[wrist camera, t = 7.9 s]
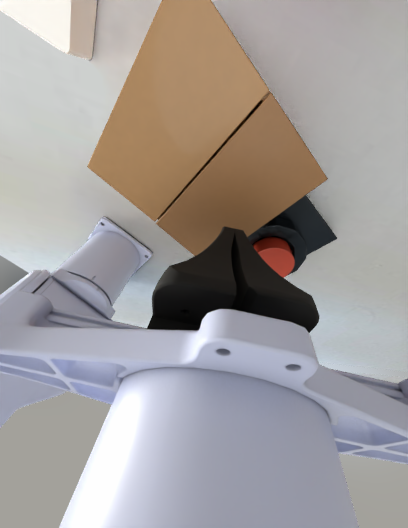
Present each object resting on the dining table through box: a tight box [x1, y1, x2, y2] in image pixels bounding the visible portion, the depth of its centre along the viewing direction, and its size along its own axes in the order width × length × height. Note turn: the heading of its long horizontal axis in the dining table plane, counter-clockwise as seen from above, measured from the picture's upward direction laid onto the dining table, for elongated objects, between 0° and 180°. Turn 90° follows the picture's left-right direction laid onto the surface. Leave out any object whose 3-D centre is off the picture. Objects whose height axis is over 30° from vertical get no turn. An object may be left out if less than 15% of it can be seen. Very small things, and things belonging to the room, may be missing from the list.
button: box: [253, 237, 295, 277], centre depth 21 cm, size 4×4×2 cm
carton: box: [156, 91, 328, 256], centre depth 16 cm, size 12×11×8 cm
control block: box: [247, 195, 337, 275], centre depth 22 cm, size 12×8×4 cm, turn 137°
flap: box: [87, 0, 269, 221], centre depth 12 cm, size 6×11×1 cm, turn 137°
